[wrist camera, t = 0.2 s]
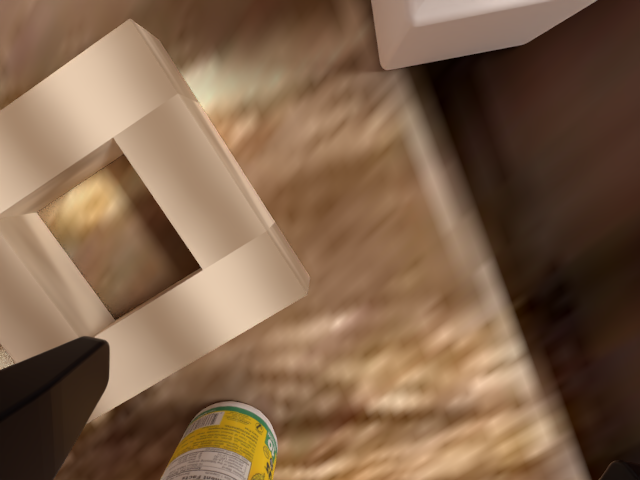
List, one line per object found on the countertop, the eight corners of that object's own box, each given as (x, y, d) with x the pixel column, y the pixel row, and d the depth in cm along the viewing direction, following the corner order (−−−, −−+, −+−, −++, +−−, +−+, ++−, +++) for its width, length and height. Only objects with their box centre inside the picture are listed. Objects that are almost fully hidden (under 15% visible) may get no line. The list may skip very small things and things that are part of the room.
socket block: (102, 399, 24) (70, 433, 21) (-57, 190, 22) (-117, 194, 19) (310, 277, 22) (307, 294, 19) (159, 39, 20) (130, 18, 17)
